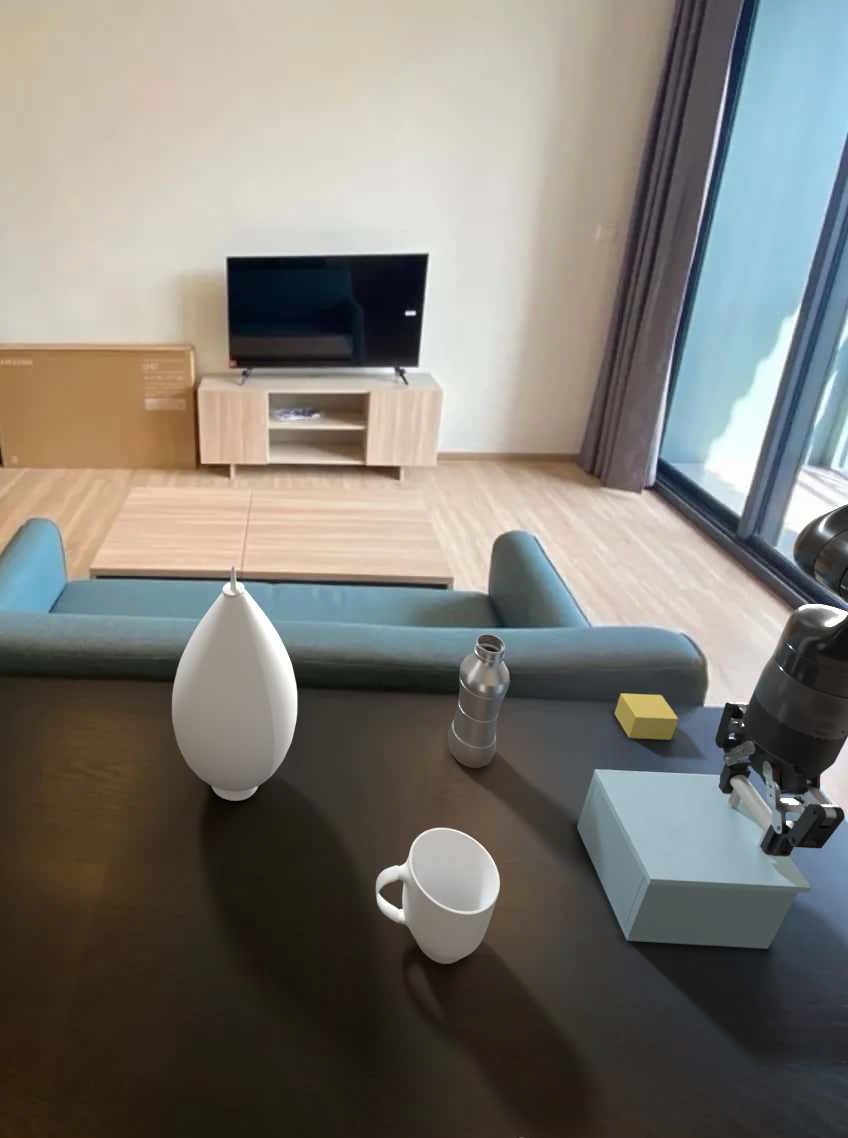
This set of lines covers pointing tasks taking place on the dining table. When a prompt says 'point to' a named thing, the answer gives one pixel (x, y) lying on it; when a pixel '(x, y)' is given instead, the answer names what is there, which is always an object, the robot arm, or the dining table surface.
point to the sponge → (646, 716)
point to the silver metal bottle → (479, 702)
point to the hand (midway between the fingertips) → (749, 819)
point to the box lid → (697, 830)
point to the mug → (444, 893)
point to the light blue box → (673, 894)
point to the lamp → (234, 696)
